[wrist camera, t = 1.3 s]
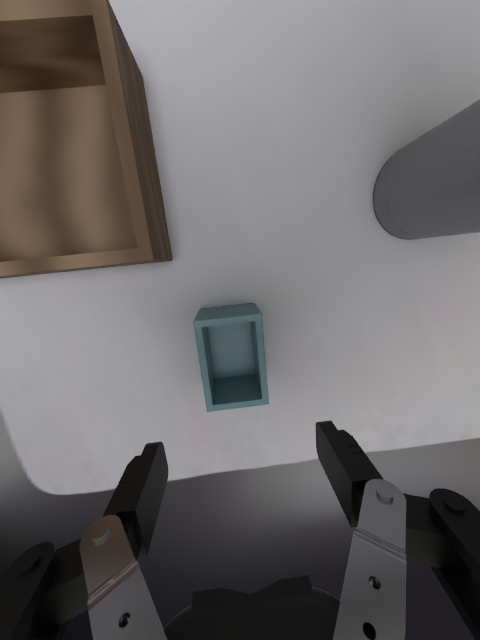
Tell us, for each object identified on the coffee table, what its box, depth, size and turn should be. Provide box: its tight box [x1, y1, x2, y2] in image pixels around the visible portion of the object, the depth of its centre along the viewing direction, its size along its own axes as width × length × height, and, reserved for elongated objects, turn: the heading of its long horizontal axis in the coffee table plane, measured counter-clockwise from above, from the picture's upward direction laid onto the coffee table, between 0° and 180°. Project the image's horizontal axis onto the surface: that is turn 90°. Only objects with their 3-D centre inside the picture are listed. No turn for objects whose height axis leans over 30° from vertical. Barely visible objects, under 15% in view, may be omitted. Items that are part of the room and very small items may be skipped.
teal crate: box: [194, 303, 269, 412], centre depth 25 cm, size 6×9×6 cm, turn 6°
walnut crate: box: [0, 0, 172, 278], centre depth 20 cm, size 18×16×7 cm
